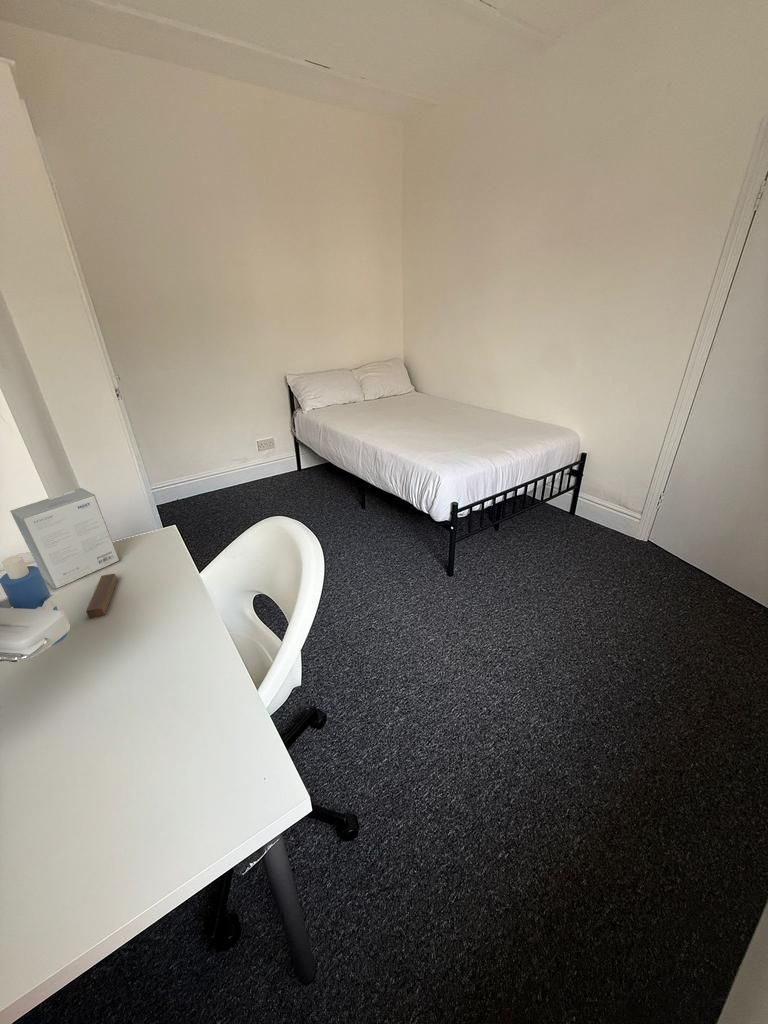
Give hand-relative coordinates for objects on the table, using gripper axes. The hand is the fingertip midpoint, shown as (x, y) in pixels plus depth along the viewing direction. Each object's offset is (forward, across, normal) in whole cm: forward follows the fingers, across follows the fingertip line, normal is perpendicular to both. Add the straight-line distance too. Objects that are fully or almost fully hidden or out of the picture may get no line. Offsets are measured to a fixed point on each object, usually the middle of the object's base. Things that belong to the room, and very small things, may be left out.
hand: (36, 597), depth 72 cm
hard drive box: (+31, +21, +17) cm, 41 cm away
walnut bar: (+20, +7, +17) cm, 27 cm away
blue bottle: (-1, 0, +8) cm, 9 cm away
